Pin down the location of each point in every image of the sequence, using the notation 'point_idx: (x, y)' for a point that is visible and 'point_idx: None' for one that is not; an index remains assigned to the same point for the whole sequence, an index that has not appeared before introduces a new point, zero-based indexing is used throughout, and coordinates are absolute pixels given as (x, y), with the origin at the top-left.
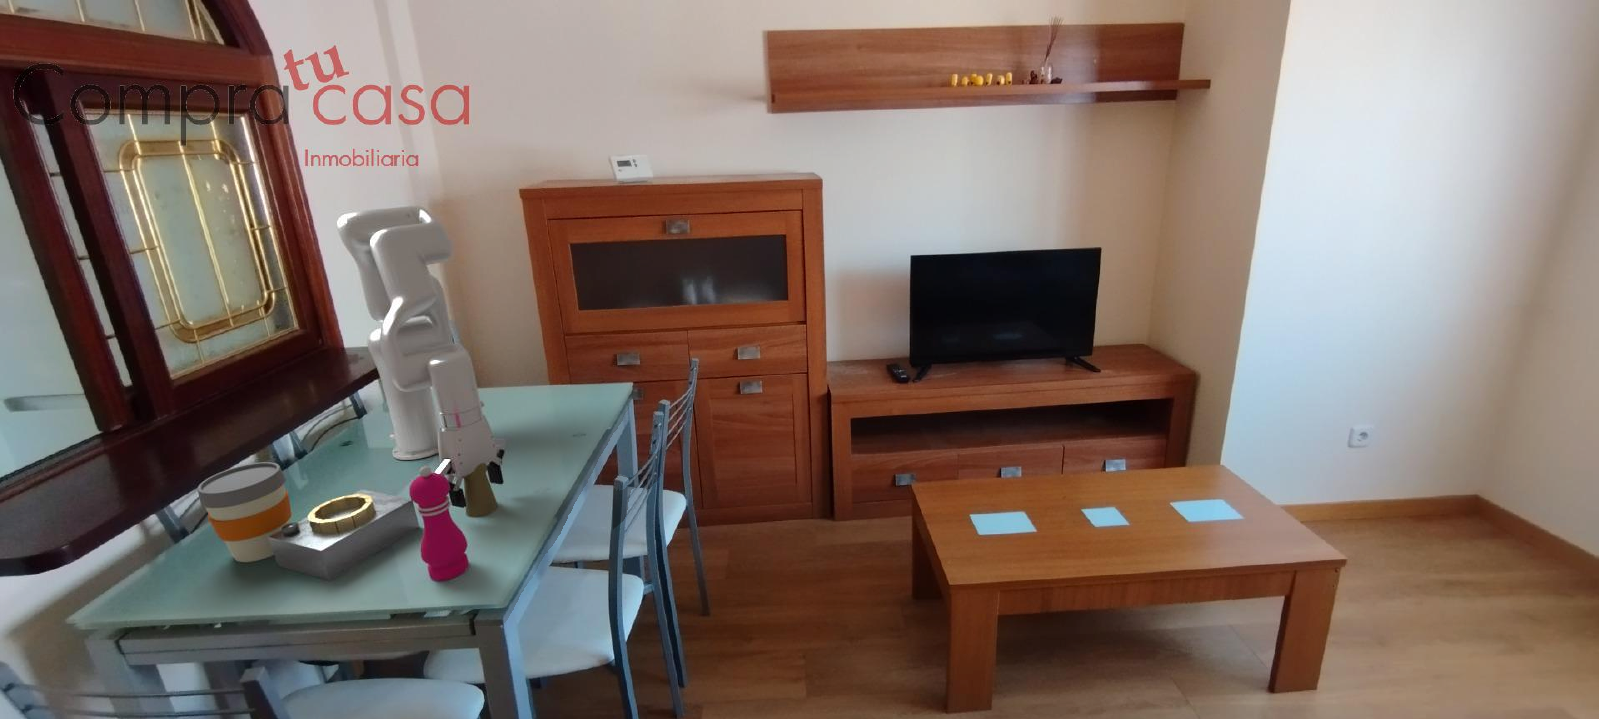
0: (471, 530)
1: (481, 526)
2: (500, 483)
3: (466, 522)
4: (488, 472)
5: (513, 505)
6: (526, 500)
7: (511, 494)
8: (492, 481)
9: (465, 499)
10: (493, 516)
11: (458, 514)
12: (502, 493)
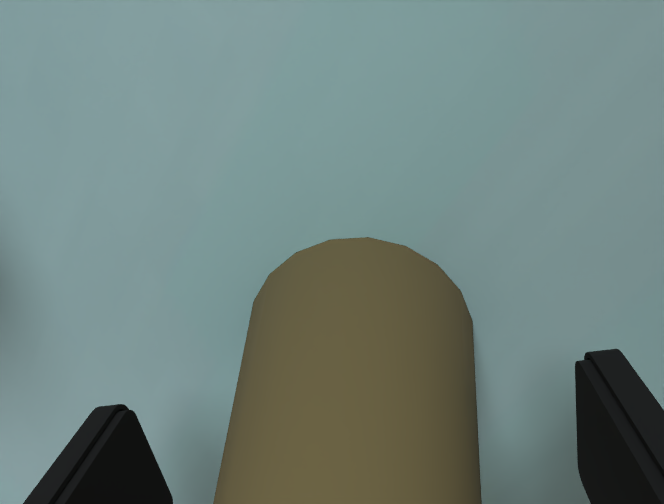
0: (176, 476)
1: None
2: (582, 481)
3: (201, 387)
4: (633, 459)
5: (496, 472)
6: (583, 494)
7: (624, 350)
8: (584, 398)
9: (235, 393)
10: None
11: (220, 250)
12: (615, 274)
